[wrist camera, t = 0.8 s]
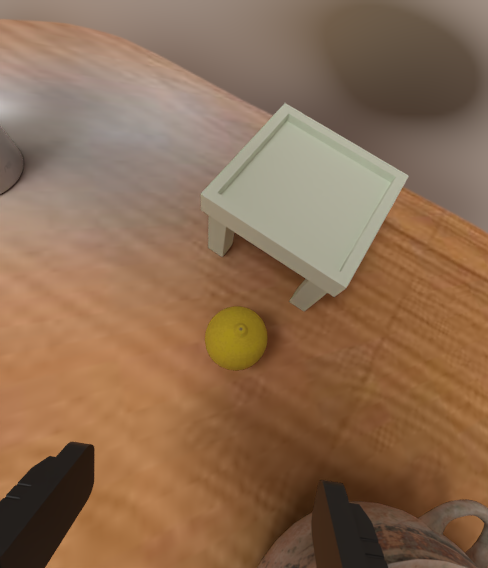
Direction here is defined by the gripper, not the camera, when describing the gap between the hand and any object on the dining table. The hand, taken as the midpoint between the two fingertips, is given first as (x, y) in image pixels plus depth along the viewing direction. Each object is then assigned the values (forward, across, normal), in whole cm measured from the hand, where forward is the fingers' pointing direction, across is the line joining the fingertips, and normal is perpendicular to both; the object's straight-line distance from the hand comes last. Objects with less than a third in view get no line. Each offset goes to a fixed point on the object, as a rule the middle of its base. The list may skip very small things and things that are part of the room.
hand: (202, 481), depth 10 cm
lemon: (+19, +1, +4) cm, 20 cm away
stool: (+27, -4, -8) cm, 28 cm away
